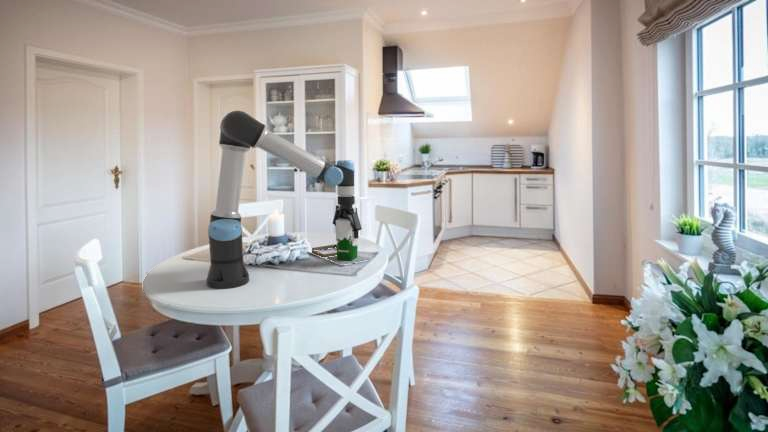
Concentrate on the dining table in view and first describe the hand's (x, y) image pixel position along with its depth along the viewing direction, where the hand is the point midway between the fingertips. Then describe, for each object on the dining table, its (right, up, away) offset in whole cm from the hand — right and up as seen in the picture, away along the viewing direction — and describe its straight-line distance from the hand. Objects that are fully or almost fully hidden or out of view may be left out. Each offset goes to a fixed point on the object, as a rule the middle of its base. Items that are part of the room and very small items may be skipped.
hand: (346, 242), depth 197 cm
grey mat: (0, -8, +1) cm, 8 cm away
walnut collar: (-9, -6, +15) cm, 19 cm away
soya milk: (0, -7, +1) cm, 7 cm away
